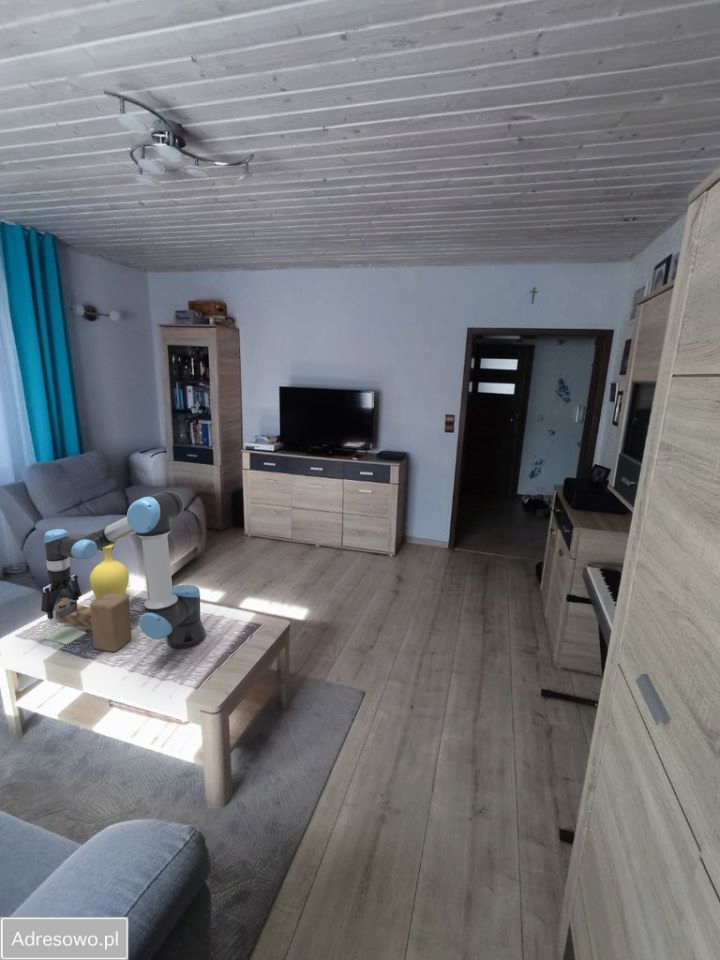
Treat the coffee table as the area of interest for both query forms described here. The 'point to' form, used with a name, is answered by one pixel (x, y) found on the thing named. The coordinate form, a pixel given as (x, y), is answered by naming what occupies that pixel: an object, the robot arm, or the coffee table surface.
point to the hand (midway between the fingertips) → (63, 619)
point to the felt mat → (65, 635)
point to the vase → (109, 576)
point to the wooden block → (110, 622)
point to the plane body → (78, 617)
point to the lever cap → (65, 608)
